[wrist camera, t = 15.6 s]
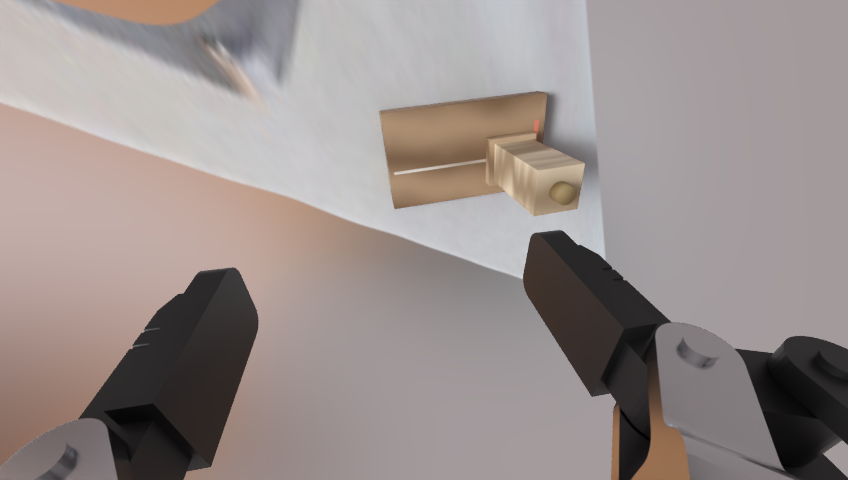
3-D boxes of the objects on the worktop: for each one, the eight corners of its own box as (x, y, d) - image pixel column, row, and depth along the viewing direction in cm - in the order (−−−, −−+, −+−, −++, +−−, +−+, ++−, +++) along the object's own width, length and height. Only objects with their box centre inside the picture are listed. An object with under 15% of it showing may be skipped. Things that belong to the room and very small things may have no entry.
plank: (379, 110, 32) (380, 113, 30) (537, 91, 34) (547, 93, 32) (392, 202, 37) (394, 208, 35) (529, 180, 39) (538, 186, 37)
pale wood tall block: (486, 137, 33) (540, 169, 23) (535, 130, 34) (608, 159, 24) (485, 182, 36) (534, 229, 26) (531, 175, 36) (595, 218, 27)
